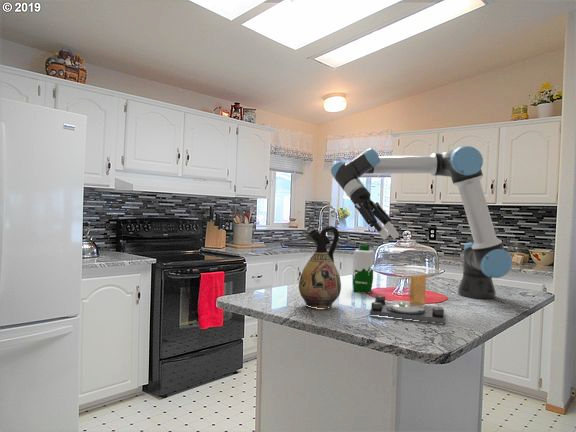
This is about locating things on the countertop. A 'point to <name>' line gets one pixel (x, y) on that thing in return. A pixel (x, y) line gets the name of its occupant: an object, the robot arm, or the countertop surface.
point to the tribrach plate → (429, 315)
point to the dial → (412, 298)
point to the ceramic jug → (321, 272)
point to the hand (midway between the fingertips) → (391, 236)
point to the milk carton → (363, 269)
